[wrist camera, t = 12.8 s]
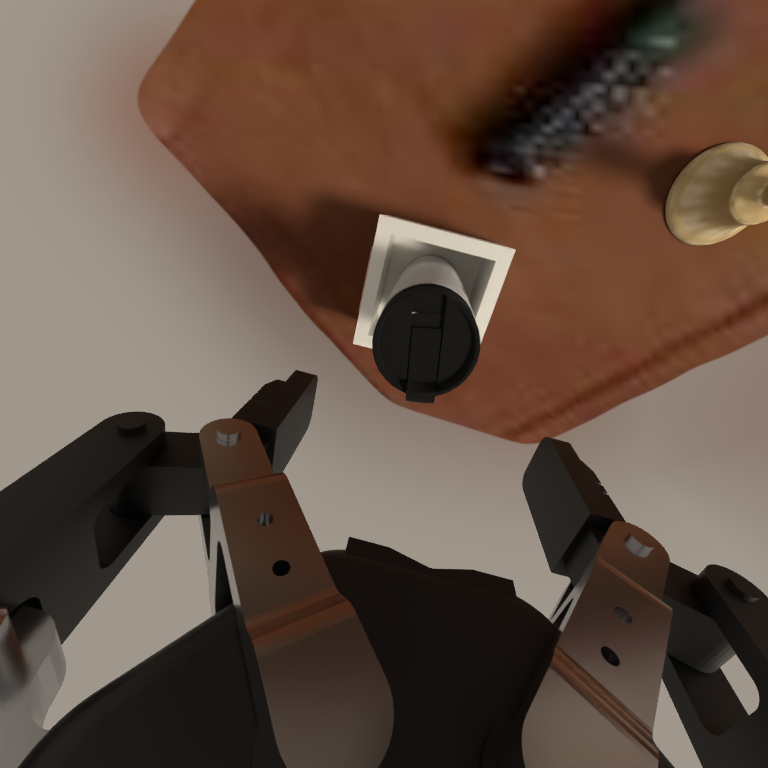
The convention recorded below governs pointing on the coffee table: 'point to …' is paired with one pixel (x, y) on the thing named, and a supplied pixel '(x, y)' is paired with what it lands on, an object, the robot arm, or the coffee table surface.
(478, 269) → the socket
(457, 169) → the coffee table surface
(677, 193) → the hand bell
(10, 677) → the robot arm
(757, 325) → the coffee table surface
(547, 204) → the coffee table surface
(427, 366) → the travel mug
